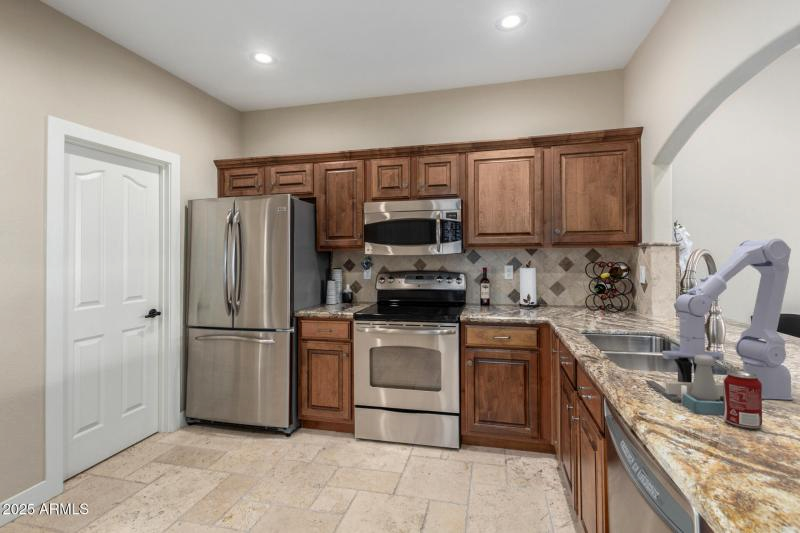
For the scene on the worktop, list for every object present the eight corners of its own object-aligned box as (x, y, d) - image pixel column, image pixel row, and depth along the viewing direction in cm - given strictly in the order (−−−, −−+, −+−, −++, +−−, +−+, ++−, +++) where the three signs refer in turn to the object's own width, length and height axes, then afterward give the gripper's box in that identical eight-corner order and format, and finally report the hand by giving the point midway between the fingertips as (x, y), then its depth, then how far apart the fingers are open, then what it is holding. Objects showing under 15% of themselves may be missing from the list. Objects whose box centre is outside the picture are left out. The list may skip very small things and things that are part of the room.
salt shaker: (723, 408, 101) (722, 358, 100) (698, 407, 102) (697, 357, 102) (710, 400, 106) (709, 353, 106) (686, 399, 108) (686, 352, 107)
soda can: (765, 433, 86) (765, 379, 86) (726, 426, 90) (725, 375, 90) (758, 422, 92) (757, 371, 92) (721, 416, 95) (720, 368, 95)
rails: (700, 385, 119) (700, 382, 119) (737, 405, 102) (737, 401, 102) (646, 383, 122) (646, 380, 122) (673, 402, 105) (673, 399, 105)
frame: (732, 405, 102) (732, 387, 102) (751, 416, 95) (750, 396, 95) (680, 403, 105) (680, 385, 104) (695, 413, 98) (695, 394, 98)
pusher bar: (710, 389, 114) (710, 363, 114) (729, 399, 106) (729, 372, 105) (654, 387, 117) (654, 362, 117) (668, 397, 108) (667, 370, 108)
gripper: (712, 334, 112) (713, 381, 112) (657, 333, 115) (657, 379, 115) (728, 339, 105) (728, 389, 105) (668, 338, 108) (669, 386, 108)
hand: (692, 384), depth 110 cm, fingers closed on pusher bar, 2 cm apart
